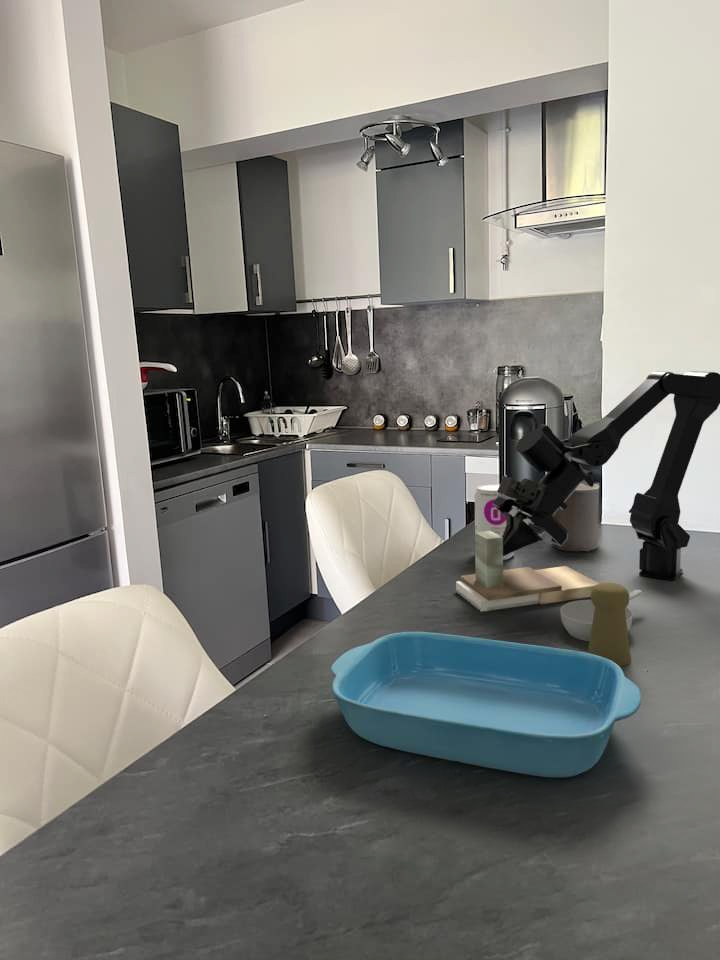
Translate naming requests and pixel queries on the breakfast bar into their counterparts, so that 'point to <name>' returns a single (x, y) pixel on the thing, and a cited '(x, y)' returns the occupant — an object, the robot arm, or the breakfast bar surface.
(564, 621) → the small pan
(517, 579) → the lid board
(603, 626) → the olive brown pepper mill
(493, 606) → the cream dish
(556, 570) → the oak block
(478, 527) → the supplement can
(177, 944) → the breakfast bar surface
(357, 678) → the casserole dish
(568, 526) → the pillar candle
